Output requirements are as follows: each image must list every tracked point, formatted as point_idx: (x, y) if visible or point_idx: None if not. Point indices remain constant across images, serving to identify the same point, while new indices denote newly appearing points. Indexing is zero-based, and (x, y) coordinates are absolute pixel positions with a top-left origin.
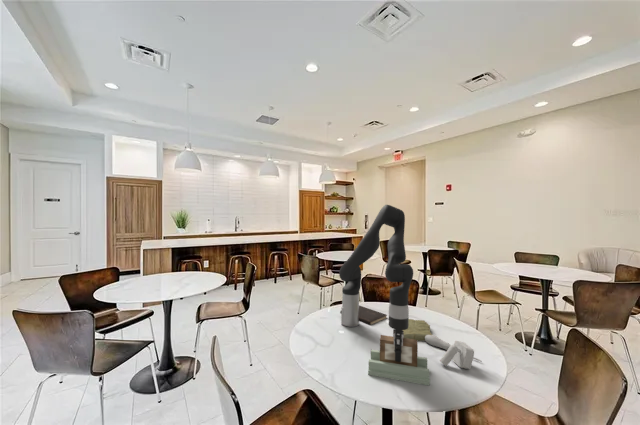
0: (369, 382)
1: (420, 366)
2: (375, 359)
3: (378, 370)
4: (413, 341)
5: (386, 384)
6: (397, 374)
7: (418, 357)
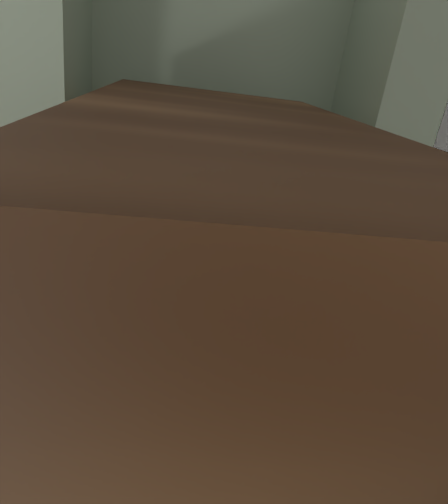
0: None
1: (98, 7)
2: None
3: None
4: (280, 468)
5: None
6: None
7: (24, 28)
